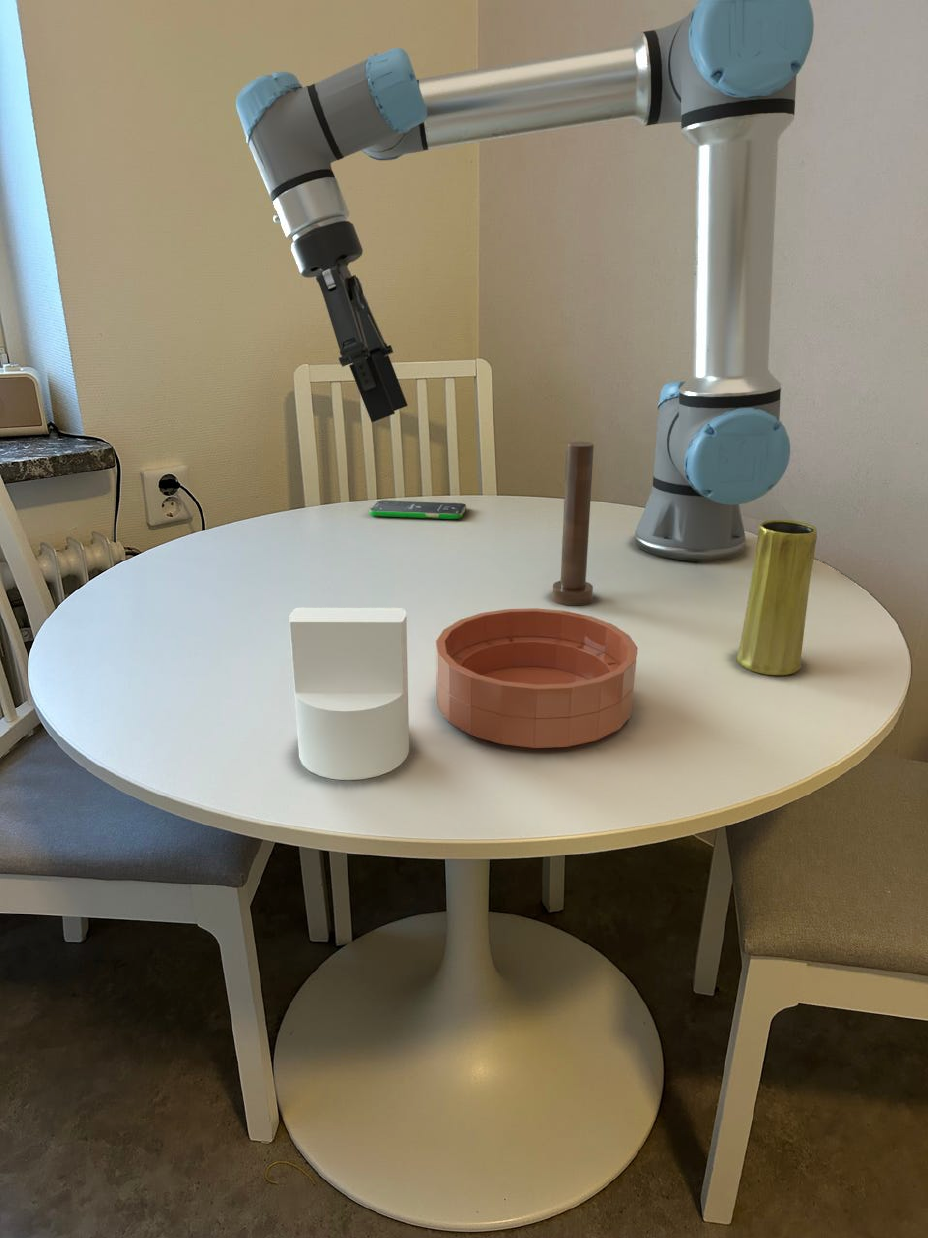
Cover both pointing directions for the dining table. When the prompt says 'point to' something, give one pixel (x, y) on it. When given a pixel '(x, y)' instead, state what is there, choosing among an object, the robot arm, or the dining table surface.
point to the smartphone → (418, 509)
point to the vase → (778, 598)
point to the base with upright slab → (350, 690)
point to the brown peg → (575, 527)
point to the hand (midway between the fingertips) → (391, 413)
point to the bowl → (535, 677)
